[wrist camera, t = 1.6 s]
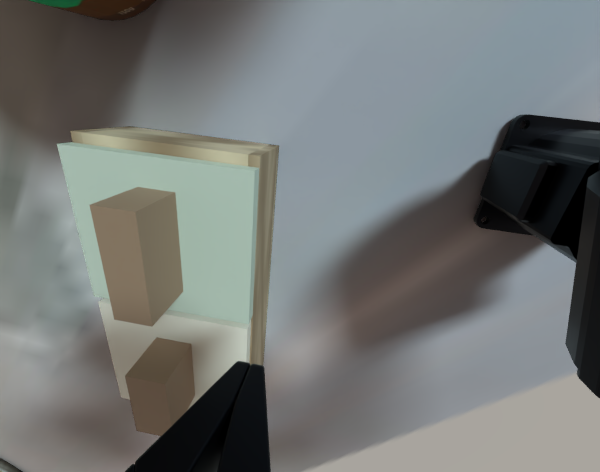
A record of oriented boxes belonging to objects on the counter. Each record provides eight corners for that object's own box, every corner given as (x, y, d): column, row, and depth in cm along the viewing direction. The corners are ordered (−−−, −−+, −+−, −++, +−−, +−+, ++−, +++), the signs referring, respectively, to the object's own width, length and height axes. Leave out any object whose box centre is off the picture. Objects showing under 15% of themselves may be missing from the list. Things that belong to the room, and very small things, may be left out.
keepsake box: (279, 145, 18) (260, 156, 14) (262, 369, 26) (248, 417, 22) (130, 126, 19) (70, 131, 14) (160, 350, 27) (128, 392, 23)
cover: (259, 167, 14) (231, 186, 10) (252, 315, 18) (231, 365, 14) (70, 142, 15) (-13, 151, 11) (103, 288, 18) (49, 329, 15)
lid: (253, 315, 18) (229, 370, 14) (248, 407, 22) (229, 470, 18) (112, 290, 19) (54, 335, 15) (132, 383, 23) (89, 438, 19)
